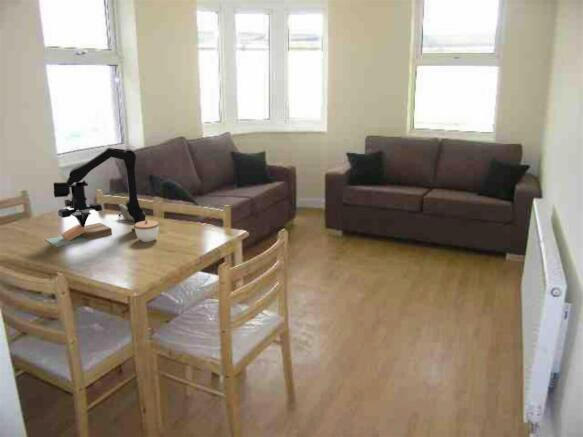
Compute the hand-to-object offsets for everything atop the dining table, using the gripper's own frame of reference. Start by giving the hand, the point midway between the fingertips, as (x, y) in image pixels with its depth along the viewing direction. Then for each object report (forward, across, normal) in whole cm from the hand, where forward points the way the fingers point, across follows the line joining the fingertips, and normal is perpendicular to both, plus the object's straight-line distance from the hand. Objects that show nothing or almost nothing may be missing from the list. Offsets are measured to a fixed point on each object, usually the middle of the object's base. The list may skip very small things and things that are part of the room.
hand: (82, 227), depth 256 cm
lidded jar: (+4, -20, +26) cm, 33 cm away
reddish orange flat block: (+2, +4, +1) cm, 5 cm away
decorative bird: (+5, -28, -11) cm, 31 cm away
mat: (+4, +8, 0) cm, 9 cm away
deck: (+4, -5, 0) cm, 7 cm away
